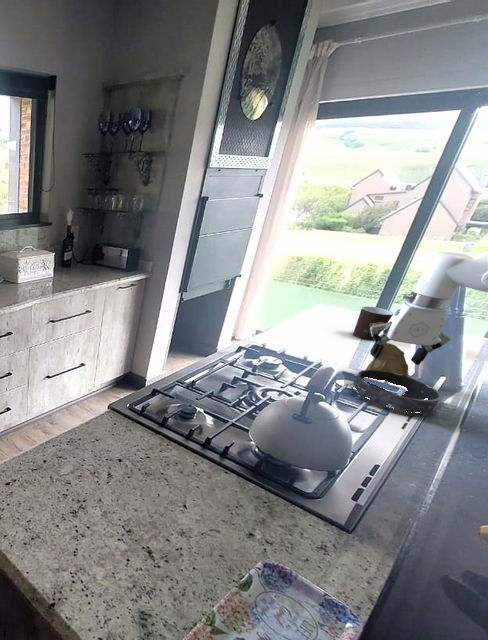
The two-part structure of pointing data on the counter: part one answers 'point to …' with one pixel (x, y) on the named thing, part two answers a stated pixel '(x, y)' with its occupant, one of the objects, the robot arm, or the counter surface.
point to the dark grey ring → (401, 404)
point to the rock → (390, 361)
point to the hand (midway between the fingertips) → (393, 359)
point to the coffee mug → (370, 321)
